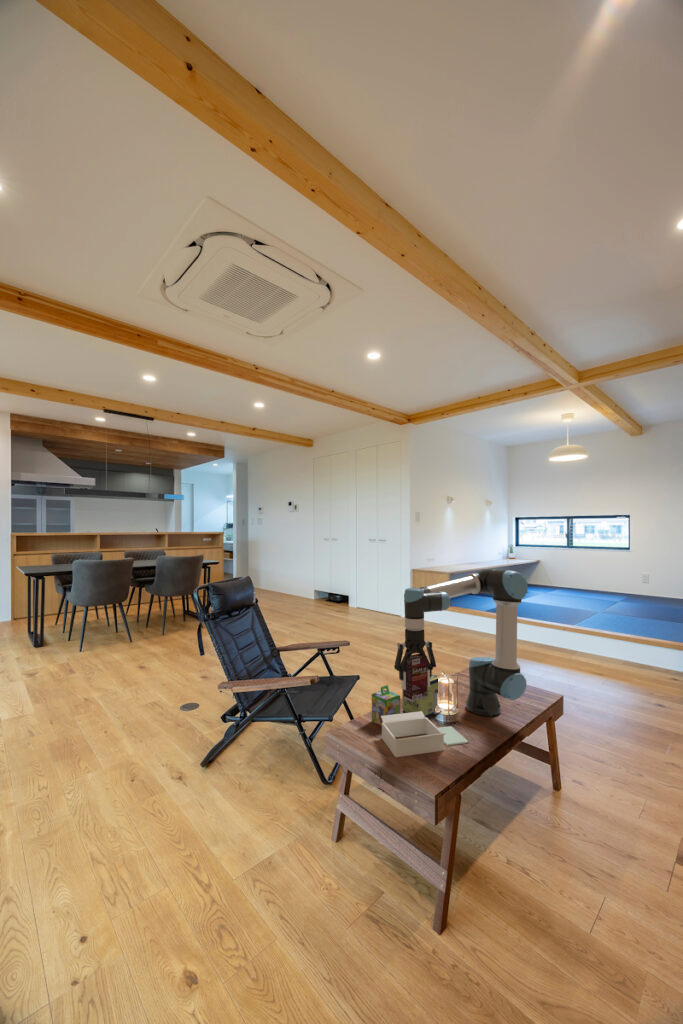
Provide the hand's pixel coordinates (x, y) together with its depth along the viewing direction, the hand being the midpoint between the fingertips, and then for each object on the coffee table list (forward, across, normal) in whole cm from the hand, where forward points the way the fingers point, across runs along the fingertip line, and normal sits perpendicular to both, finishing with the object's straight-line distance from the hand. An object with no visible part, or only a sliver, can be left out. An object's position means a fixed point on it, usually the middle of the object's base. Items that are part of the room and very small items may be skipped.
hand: (415, 687), depth 156 cm
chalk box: (+21, +5, -20) cm, 30 cm away
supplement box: (+4, 0, 0) cm, 4 cm away
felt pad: (+21, -15, -2) cm, 26 cm away
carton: (+21, +2, 0) cm, 21 cm away
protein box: (+22, -14, -24) cm, 35 cm away
